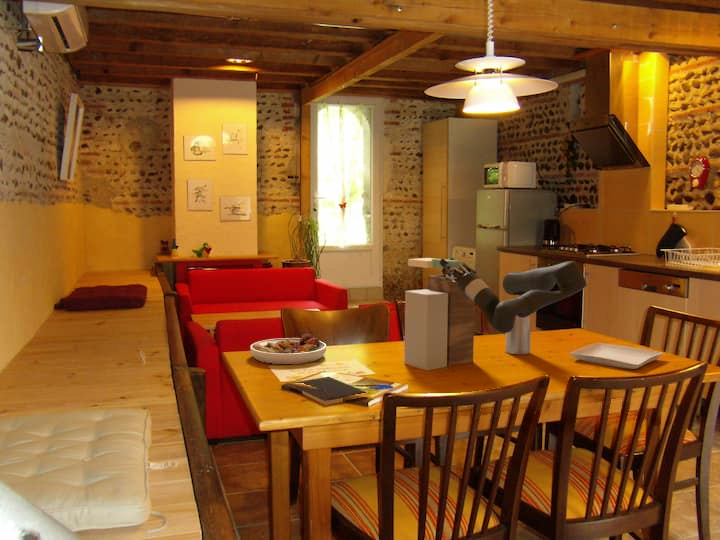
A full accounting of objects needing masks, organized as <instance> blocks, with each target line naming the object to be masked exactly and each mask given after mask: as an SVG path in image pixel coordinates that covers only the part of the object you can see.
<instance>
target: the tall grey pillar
mask: <svg viewBox="0 0 720 540" xmlns="http://www.w3.org/2000/svg"><path fill="white" fill-rule="evenodd" d="M404 297H405V298H404V299H405V300H404V303H405V304H404V364H405V365H409V366H410V367H411V366H412V367H415V368H418V369H421V370H425V371H430V370H435V369H442V368H447V325H448V293H445V292H439V291H433V290H428V288H427V289H425V288H424V289H413V290H412V289H411V290H405V291H404Z"/></svg>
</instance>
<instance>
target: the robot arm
mask: <svg viewBox="0 0 720 540" xmlns="http://www.w3.org/2000/svg"><path fill="white" fill-rule="evenodd" d="M440 259H441V261H440V265H442V266H443V269H441V272H442V275H444V277H445V279H446V280H449V279H453V280H454V281H456V282H457V283H458V287H459V289H460V290H461V291H462V292H463V293H464V294H465V295H466V296H467V297H468V298H469V299H470V300H472V301H473V302H474V305H475V306H477V307H478V308H479V309H480V310H482V312H483V314H484V316H485V318H486V319H487V321H488V322H489V324H490V325H491V327H492V328H493V329H494V330H495V331H497V332H499V333H502V334H505V352H506V353H507V354H512V355H527V354H531V339H532V338H531V336H532V333H531V332H532V330H530V316H531V315H533V314H534V313H536V312H537V311H539V310H542V309H543V308H544V307H547V306H549V305H551V304H552V305H553V304H554V303H557V302H558V301H561V300H563V299H566V298H569V297H571V296H573V295H575V294H577V293H579V292H580V291H582V290H584V289H585V288H586V286H587V281H586V278H585V276H584V274H583V272H582V270H581V268H580V266H579V264H578V262H576V261H575V260H574V261H573V260H569V261H564V262H560V263H557V264H554V265H551V266H544V267H538V268H537V267H536V268H533V269H530V270H526V271H521V272H520V271H518V272H515V271H514V272H508V273H507V274H506V275H505V276H504V277H503V279H502V289H503V290H504V292H505V293H506V294H508V295H510V296H518V297H516V298H510V299H507V300H503V301H500V299H499V296H498V295H497V294H496V293H495V292H494V291H493V290H492V289H491V288H490V287H489V286H488V285H487V284H486V282H484V280H482V279H481V278H480V277H479V276H478V275H477V273H478V272H477V271H476V270H475V269H474V268H472V267H470V266H468V265H467V264H466V263H463V264H462V263H460V269H457V268H456V267H452V266H451V265H449V264H448V263H447V262H446V261H445V260H444V259H445V258H440ZM449 260H455V258H453V257H451V258H450V259H449ZM449 268H450V269H451V270H449ZM556 284H557V286H558V289H559V290H556V291H551V290H552V289H553V288H554V287H555V285H556Z"/></svg>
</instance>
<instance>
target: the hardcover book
mask: <svg viewBox="0 0 720 540" xmlns="http://www.w3.org/2000/svg"><path fill="white" fill-rule="evenodd" d="M292 383H304V384H306V385H310V386H312V387H316V388H317V389H310V388H304V387H299V386H296V387H297V388H298V389H300V390H302V393H303V394H302V395H304V396H306V397H308V398H310V399H312V400H314V401H316V402H318V403H320V404H322V405H324V406H327V405H328V406H329V405H332V404H339V403H343V398H344V397H347V396H349V395H355V394H361V393H366V392H367V391H364V390H362V389H359V388H357V387H355V386H352V385H350V384H348V383H345V382H343V381H340V380H338V379H335V378H333V377H331V376H324V377H319V378H312V379H306V380H299V381H295V382H292ZM325 390H326V391H325Z"/></svg>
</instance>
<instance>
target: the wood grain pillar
mask: <svg viewBox="0 0 720 540" xmlns="http://www.w3.org/2000/svg"><path fill="white" fill-rule="evenodd" d="M427 278H428V279H427V290H433V291H439V292H445V293H448V325H447V366H448V367H452V366H458V365H463V364H470V363H473V362H474V342H475V340H474V339H475V338H474V336H475V303H474V302H473V301H472V300H470V299H469V298H468V297H467V296H466V295H465V294H464V293H463V292H462V291H461V290H460V289H459V287H458V283H457V282H456V281H454V280H453V279H449V280H446V279H445V277H444V275H443V274H436V275H435V274H434V275H428V276H427Z"/></svg>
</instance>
